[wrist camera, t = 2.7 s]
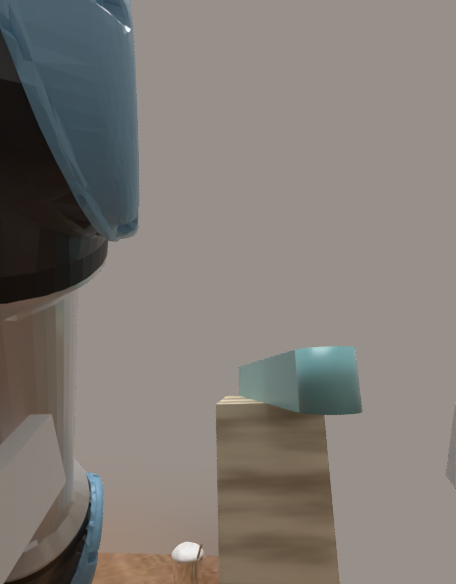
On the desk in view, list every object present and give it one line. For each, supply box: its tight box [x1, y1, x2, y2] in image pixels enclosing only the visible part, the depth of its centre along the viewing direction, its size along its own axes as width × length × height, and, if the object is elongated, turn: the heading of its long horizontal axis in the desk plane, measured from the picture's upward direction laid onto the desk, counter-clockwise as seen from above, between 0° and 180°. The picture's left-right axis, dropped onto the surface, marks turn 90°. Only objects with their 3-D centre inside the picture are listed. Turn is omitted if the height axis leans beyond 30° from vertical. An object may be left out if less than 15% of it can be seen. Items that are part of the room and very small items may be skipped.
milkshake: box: [172, 542, 203, 584], centre depth 49 cm, size 4×5×10 cm
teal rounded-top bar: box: [239, 346, 362, 415], centre depth 37 cm, size 33×4×4 cm, turn 6°
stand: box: [216, 396, 340, 584], centre depth 38 cm, size 18×10×30 cm, turn 177°
